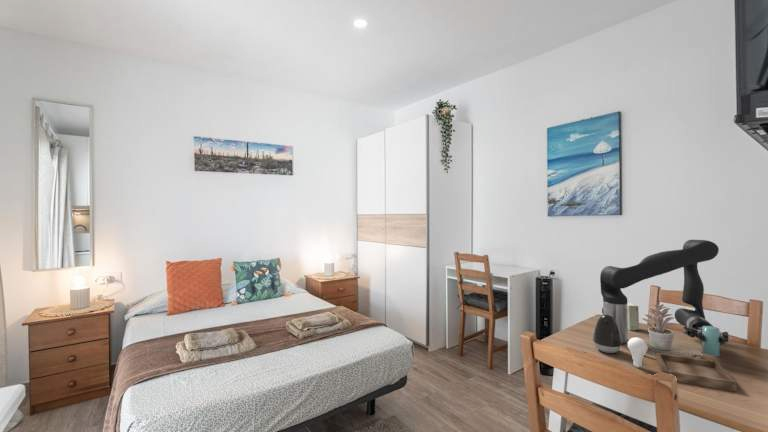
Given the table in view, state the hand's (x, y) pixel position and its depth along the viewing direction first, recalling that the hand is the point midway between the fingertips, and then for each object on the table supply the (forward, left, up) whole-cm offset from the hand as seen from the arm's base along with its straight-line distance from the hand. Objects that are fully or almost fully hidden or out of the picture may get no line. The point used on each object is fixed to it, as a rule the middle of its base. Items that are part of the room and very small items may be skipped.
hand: (713, 340), depth 131 cm
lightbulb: (-25, -15, -10) cm, 31 cm away
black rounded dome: (-34, -2, -10) cm, 35 cm away
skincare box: (-22, +37, -10) cm, 44 cm away
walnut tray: (-9, -13, -10) cm, 19 cm away
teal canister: (0, +3, -6) cm, 7 cm away
